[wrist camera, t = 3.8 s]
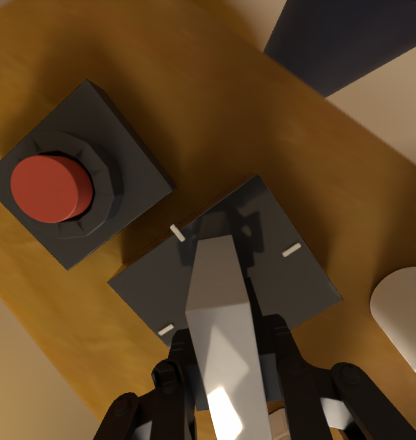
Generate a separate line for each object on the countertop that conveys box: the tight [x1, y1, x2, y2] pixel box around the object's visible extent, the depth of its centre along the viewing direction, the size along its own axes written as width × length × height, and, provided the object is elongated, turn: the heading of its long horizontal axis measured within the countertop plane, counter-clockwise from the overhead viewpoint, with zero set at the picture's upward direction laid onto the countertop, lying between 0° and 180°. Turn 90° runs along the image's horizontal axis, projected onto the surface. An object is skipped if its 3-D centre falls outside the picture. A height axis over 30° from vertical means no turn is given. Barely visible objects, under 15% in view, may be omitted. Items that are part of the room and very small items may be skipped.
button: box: [11, 155, 93, 223], centre depth 14 cm, size 4×4×2 cm
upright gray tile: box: [185, 235, 273, 440], centre depth 13 cm, size 9×2×8 cm, turn 11°
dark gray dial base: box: [107, 172, 343, 349], centre depth 19 cm, size 14×13×3 cm
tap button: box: [0, 79, 177, 271], centre depth 16 cm, size 11×9×4 cm
